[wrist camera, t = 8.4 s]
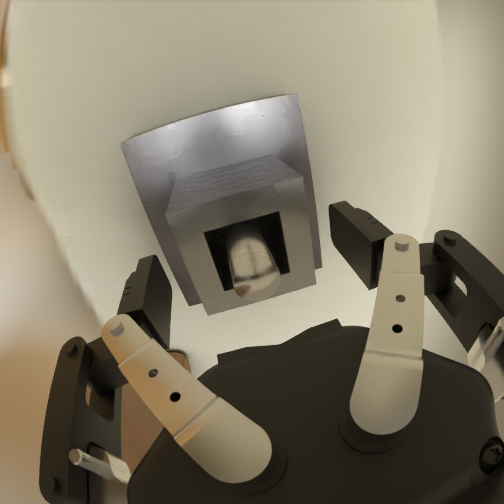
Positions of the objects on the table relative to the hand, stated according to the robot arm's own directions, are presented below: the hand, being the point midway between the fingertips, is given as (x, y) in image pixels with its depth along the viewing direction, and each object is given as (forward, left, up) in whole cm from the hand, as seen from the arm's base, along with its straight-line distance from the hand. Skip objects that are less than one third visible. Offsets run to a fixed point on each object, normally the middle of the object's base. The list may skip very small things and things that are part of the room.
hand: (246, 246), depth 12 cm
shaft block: (0, 0, -7) cm, 7 cm away
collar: (0, 0, -5) cm, 5 cm away
